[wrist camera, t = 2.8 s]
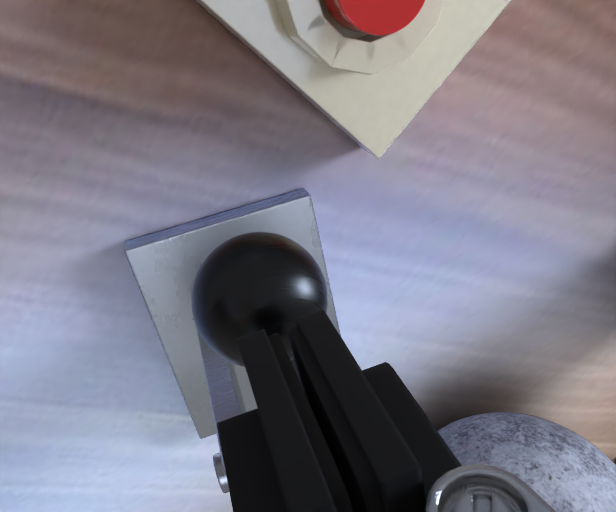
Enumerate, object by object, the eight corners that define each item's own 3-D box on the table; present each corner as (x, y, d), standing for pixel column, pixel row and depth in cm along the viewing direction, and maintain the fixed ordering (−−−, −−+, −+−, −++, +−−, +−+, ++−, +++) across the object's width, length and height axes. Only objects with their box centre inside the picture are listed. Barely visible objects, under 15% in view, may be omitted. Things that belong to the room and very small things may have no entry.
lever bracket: (124, 240, 26) (119, 396, 16) (303, 187, 28) (405, 299, 17) (198, 425, 32) (229, 629, 22) (344, 372, 33) (439, 540, 23)
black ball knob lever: (163, 227, 13) (193, 343, 11) (297, 188, 13) (347, 292, 11) (248, 434, 23) (271, 513, 21) (321, 408, 23) (350, 482, 21)
